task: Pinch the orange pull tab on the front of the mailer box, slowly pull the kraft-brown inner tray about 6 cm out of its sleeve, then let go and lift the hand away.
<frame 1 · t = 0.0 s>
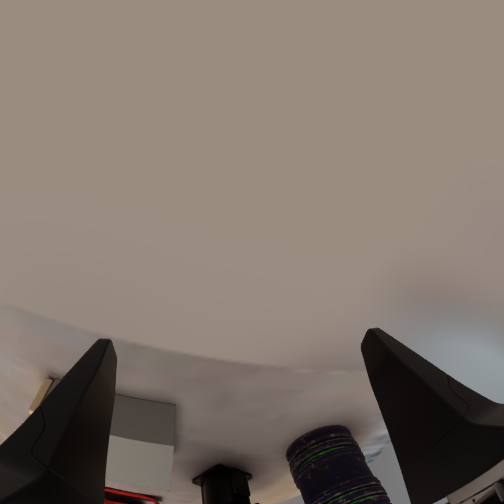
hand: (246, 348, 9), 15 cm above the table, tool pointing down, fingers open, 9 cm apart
mailer tray: (99, 452, 22), point 5 cm above the table, slide at 0.0 cm
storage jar: (318, 445, 34), on the table
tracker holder: (130, 497, 33), on the table
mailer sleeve: (115, 422, 27), on the table
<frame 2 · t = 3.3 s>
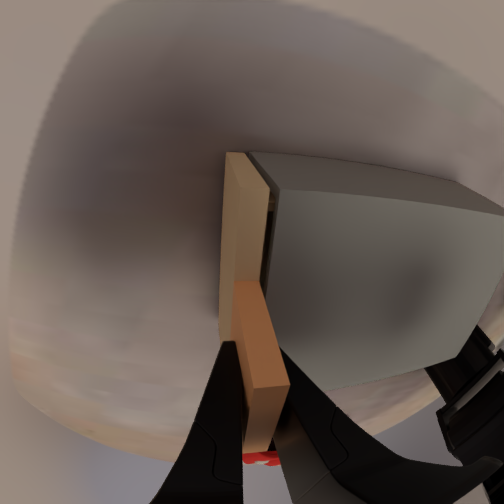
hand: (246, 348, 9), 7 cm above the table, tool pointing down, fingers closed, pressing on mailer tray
mailer tray: (391, 303, 12), point 5 cm above the table, slide at 0.0 cm, touching gripper
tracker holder: (293, 434, 29), on the table
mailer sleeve: (359, 247, 17), on the table
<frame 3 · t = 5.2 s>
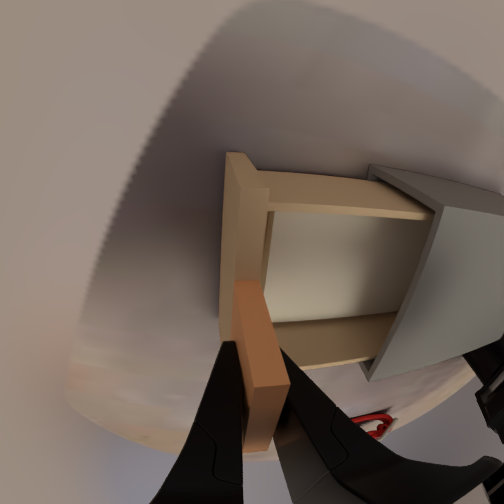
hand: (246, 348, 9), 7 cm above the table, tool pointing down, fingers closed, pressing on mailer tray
mailer tray: (391, 303, 12), point 5 cm above the table, slide at 6.5 cm, touching gripper
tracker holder: (342, 427, 31), on the table
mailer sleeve: (432, 248, 18), on the table
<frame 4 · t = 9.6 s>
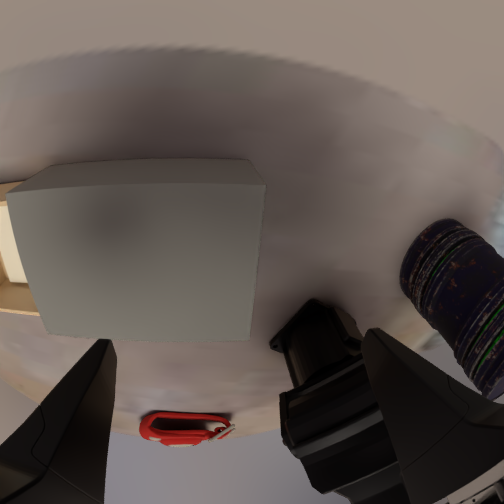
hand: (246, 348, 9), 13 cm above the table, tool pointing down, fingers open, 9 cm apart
mailer tray: (25, 266, 14), point 5 cm above the table, slide at 6.5 cm
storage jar: (434, 260, 26), on the table
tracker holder: (188, 422, 34), on the table
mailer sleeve: (144, 228, 20), on the table
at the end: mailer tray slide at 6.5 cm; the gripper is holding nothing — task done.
